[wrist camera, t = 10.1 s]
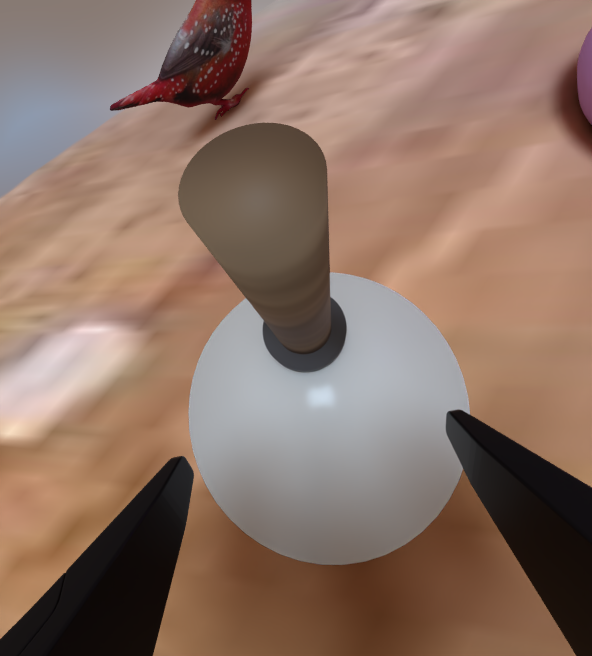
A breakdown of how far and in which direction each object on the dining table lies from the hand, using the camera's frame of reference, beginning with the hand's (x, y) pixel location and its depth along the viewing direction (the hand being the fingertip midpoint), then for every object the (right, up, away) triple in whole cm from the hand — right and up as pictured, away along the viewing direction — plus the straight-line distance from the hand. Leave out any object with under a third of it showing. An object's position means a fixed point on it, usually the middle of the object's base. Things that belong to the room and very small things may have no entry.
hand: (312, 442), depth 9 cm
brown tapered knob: (0, +4, +10) cm, 10 cm away
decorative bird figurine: (-9, +26, +19) cm, 33 cm away
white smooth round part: (+1, -1, +9) cm, 9 cm away
